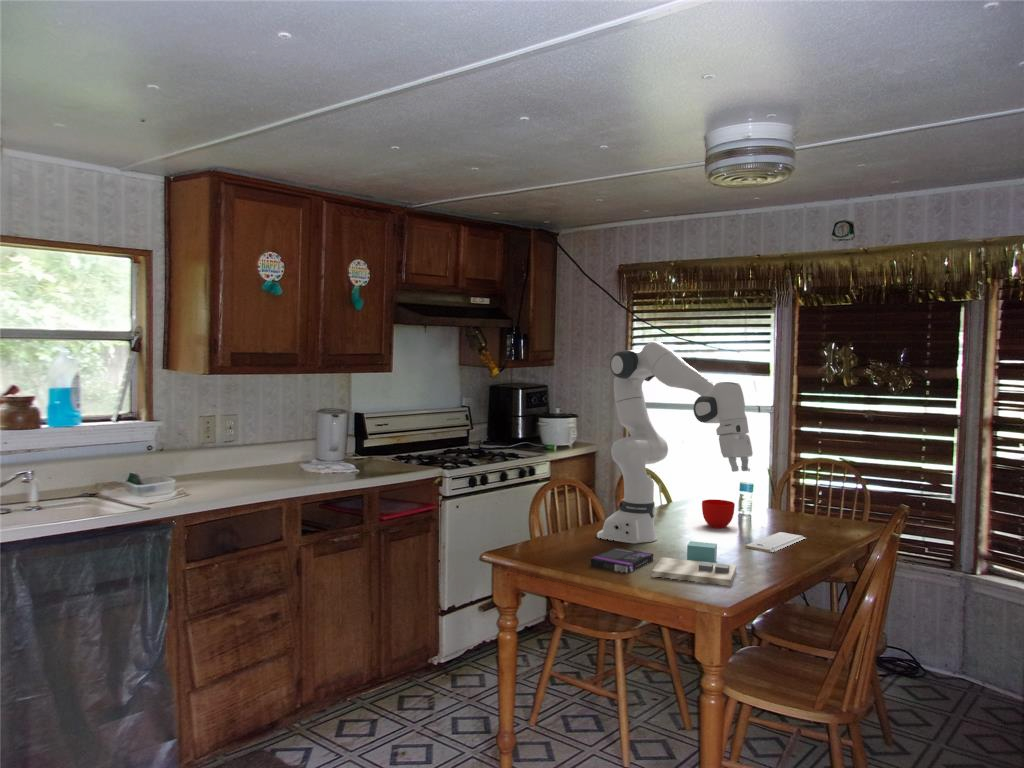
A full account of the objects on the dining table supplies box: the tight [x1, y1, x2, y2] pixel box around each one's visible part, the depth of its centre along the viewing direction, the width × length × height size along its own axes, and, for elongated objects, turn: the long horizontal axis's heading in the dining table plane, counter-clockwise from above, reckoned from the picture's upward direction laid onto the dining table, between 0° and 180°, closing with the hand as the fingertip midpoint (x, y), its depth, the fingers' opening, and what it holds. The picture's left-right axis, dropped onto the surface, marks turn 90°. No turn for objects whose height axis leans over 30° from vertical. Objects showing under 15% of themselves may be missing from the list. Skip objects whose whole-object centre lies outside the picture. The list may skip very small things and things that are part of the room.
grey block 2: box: [715, 563, 731, 573], centre depth 250 cm, size 4×4×2 cm
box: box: [590, 547, 654, 574], centre depth 265 cm, size 14×4×20 cm
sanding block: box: [686, 540, 718, 563], centre depth 269 cm, size 9×6×6 cm
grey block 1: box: [699, 562, 713, 572], centre depth 252 cm, size 4×4×2 cm
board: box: [651, 557, 737, 587], centre depth 253 cm, size 24×18×2 cm
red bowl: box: [701, 499, 735, 529], centre depth 327 cm, size 13×17×10 cm
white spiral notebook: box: [744, 531, 807, 554], centre depth 297 cm, size 31×3×12 cm
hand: (740, 471), depth 259 cm, fingers open, 8 cm apart
